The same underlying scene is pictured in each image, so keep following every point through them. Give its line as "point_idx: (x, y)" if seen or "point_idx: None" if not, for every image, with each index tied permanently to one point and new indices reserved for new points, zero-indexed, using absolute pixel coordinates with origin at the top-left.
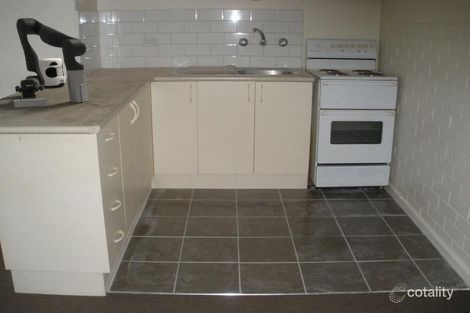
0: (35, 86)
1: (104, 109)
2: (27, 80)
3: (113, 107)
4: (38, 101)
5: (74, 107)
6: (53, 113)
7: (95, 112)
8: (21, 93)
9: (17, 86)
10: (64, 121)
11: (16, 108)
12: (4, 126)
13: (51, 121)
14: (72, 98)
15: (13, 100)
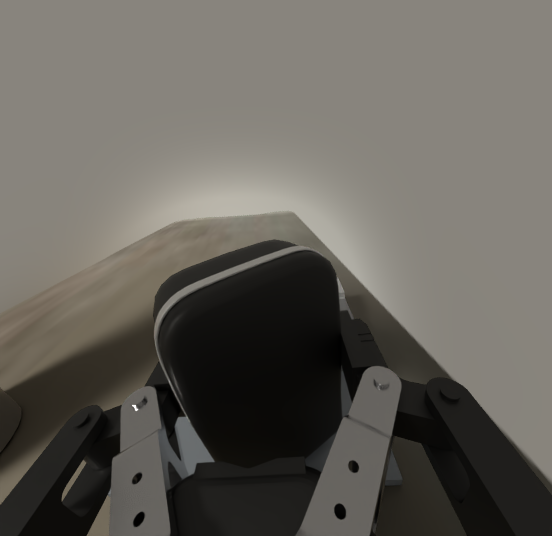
0: (157, 409)
1: (73, 283)
2: (236, 250)
3: (28, 299)
4: None
5: (113, 309)
6: (205, 259)
7: (117, 264)
8: (340, 374)
9: (512, 504)
10: (204, 229)
11: None
12: (294, 213)
13: (223, 228)
14: (4, 392)
15: (338, 279)
